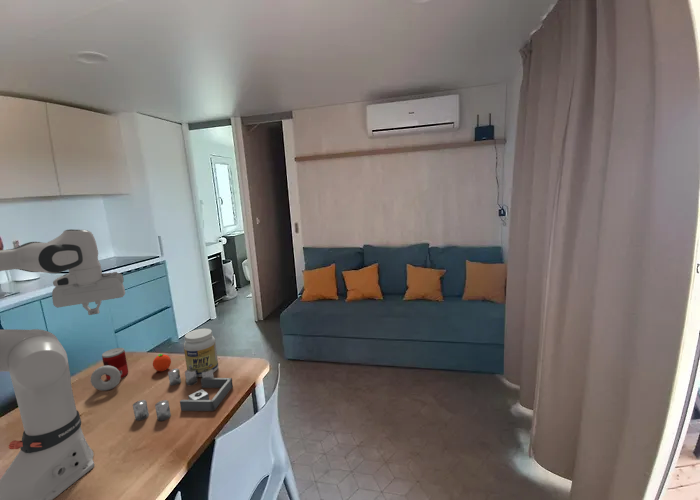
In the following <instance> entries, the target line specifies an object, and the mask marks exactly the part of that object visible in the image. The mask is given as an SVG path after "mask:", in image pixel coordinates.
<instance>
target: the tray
mask: <svg viewBox="0 0 700 500" xmlns="http://www.w3.org/2000/svg"><path fill="white" fill-rule="evenodd" d="M200 383H201V388H202V389H203V388H205V389H218V388H219V390H218V391H217V393H216V394H215V395H214V396H213V397H212V399H209V400H189V399H180V401H179V403H180V404H179V406H180V410H181V411H184V412H185V411H186V412H189V411H190V412H215V411H216V410H217V408H218V406H219V405H221V403H222V402H223V400H224V398H225V397H226V396H227V395H228V393H230V391H231V390H232V388H233V385H234V384H233V378H232V377H214V378H202V377H201V379H200Z"/></svg>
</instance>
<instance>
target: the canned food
mask: <svg viewBox="0 0 700 500" xmlns="http://www.w3.org/2000/svg"><path fill="white" fill-rule="evenodd" d="M101 358H102V363H103V366H107V365H109V366H113V367H115V368H117V369H118V370H119V372H120V374H121V379H123V378H125V377H126V376H127V375H128V374H129V368H128V362H127V357H126V351H125V348H124V347H115V348H111V349H108V350H106V351H104V352H103V353H102V354H101ZM105 378H106V380H107V381H109V380H110V379H111V377H110V376H109V375H107V374H105Z"/></svg>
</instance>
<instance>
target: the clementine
mask: <svg viewBox="0 0 700 500" xmlns="http://www.w3.org/2000/svg"><path fill="white" fill-rule="evenodd" d="M171 365H172V360H171V357H170V356H169V355H168V354H163V353H159V354H158V355H157V356H156V357H155V358H154V359H153V361H152V367H153V369H154V370H155V371H157V372H165V371H166V370H168V369H169V368H170V366H171Z"/></svg>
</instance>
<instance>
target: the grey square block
mask: <svg viewBox="0 0 700 500" xmlns="http://www.w3.org/2000/svg"><path fill="white" fill-rule="evenodd" d="M188 400H210V395H209V393H208V392H207V391H205V390H204V389H203V388H202V389H199V390H197V391H195V392H193V393H191V394H189V395H188Z"/></svg>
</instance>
